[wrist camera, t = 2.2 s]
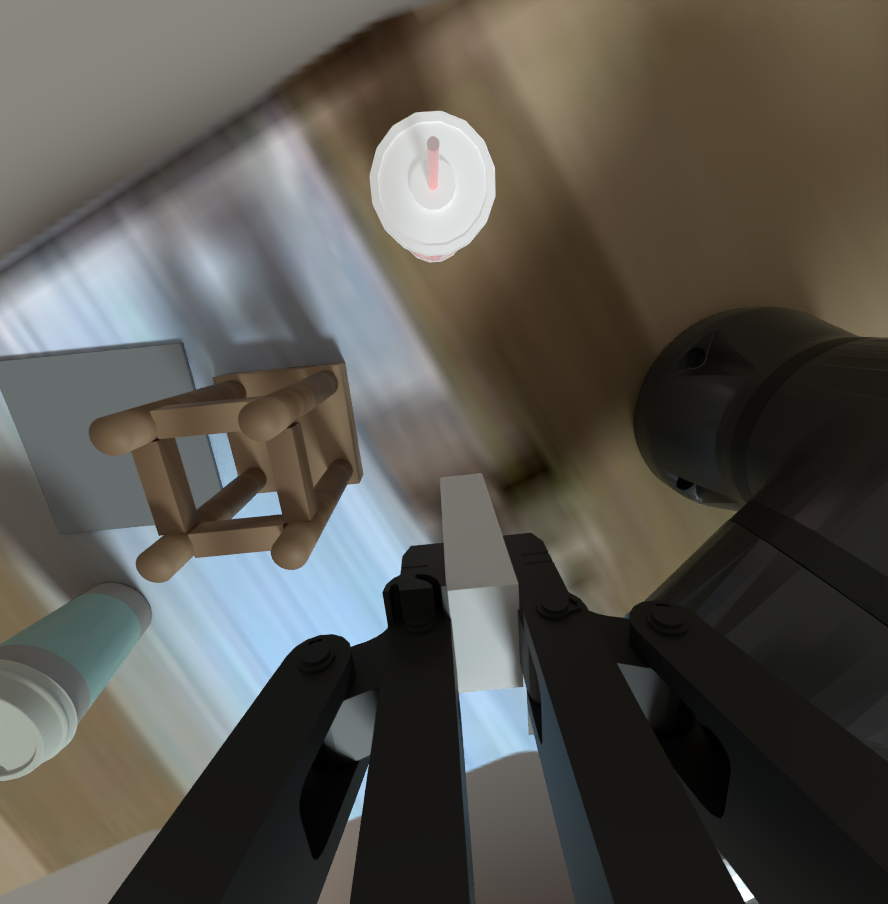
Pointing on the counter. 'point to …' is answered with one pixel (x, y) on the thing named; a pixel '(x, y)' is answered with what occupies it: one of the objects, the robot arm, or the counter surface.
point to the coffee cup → (63, 672)
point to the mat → (67, 431)
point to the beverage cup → (432, 184)
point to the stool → (242, 463)
